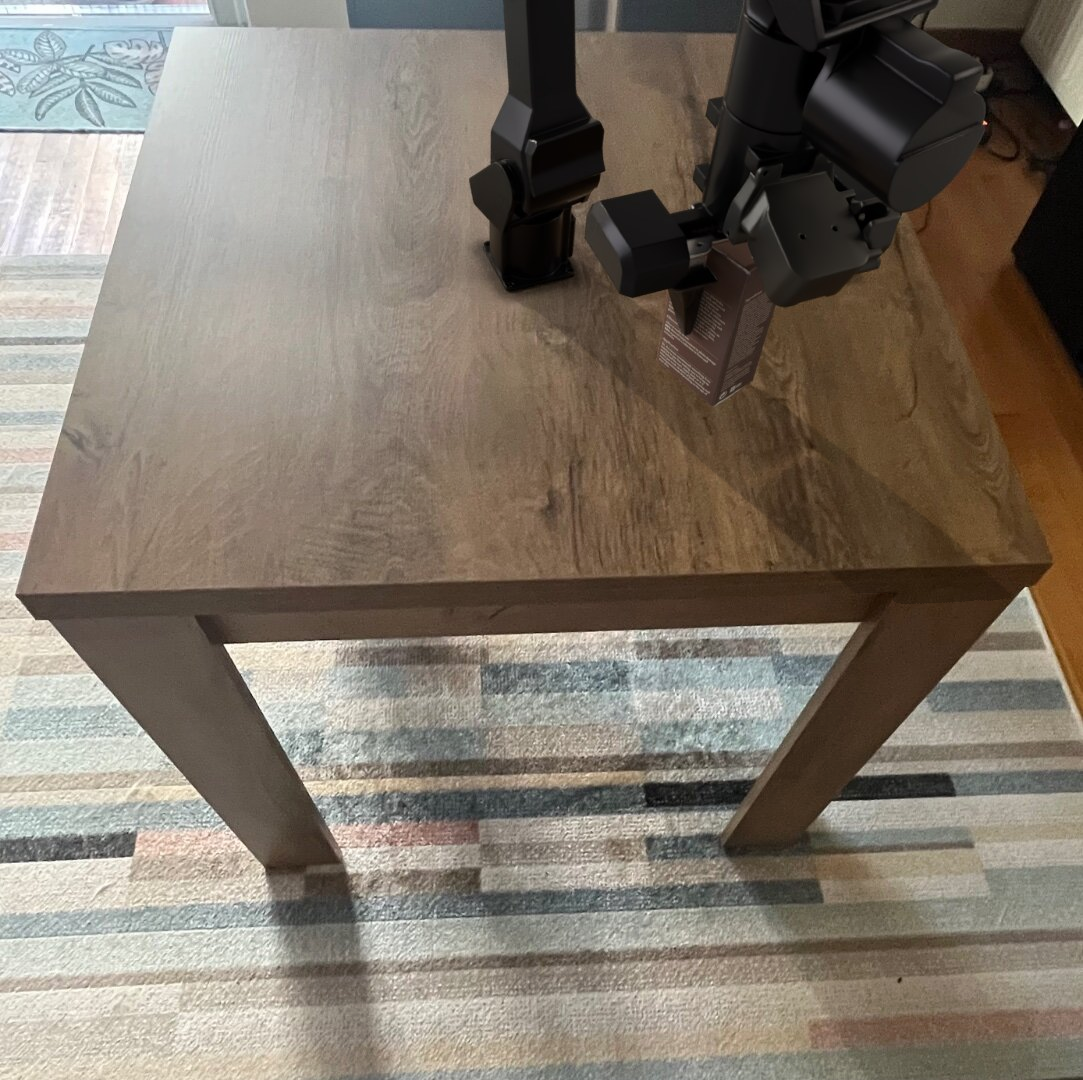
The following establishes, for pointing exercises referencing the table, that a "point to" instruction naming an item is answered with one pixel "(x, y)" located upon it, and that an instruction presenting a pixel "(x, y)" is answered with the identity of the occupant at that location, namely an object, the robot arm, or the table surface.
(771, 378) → the table surface
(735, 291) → the box
